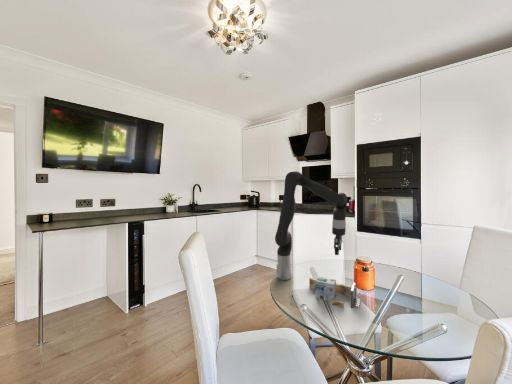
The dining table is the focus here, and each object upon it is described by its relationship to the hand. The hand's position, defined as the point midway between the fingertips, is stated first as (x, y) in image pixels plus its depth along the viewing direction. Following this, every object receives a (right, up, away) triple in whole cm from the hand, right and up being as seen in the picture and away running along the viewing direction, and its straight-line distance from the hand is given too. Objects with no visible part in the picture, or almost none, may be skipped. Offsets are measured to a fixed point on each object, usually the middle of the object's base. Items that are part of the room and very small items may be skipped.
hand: (337, 252), depth 149 cm
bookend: (+7, -27, -10) cm, 29 cm away
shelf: (-6, -26, -3) cm, 27 cm away
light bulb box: (-8, -27, -2) cm, 28 cm away
